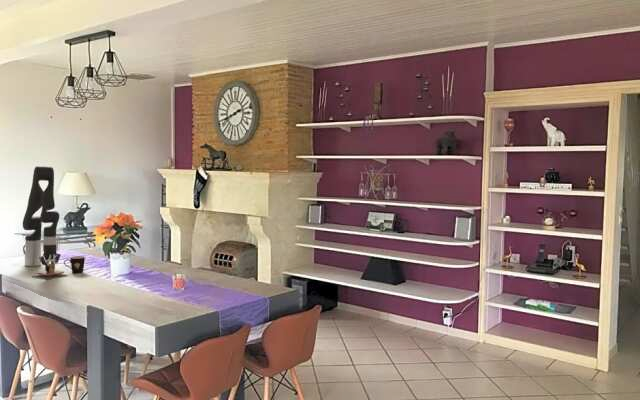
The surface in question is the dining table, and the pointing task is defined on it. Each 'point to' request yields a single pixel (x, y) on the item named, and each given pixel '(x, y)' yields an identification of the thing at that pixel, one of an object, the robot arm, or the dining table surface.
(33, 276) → the mat
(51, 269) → the lid
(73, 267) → the coffee mug
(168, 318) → the dining table surface
